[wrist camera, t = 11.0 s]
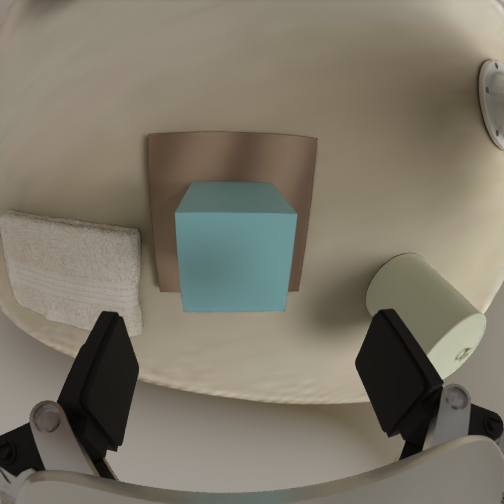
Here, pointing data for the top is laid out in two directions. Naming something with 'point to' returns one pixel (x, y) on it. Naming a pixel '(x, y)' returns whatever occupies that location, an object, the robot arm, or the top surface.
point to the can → (428, 310)
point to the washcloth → (73, 268)
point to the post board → (226, 170)
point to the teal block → (234, 247)
